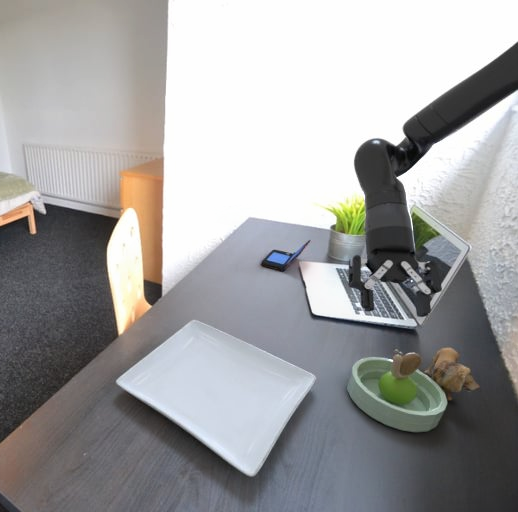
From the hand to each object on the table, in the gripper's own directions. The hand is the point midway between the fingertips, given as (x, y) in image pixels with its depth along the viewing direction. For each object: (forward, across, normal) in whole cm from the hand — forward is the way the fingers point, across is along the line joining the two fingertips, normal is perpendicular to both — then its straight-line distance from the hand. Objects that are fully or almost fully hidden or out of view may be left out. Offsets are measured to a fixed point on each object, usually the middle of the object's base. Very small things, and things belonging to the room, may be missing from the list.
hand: (395, 313), depth 67 cm
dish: (+15, 0, +5) cm, 16 cm away
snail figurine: (+15, 0, +5) cm, 16 cm away
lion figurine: (+12, +11, +9) cm, 18 cm away
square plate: (+18, -31, +2) cm, 36 cm away
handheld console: (-23, -9, +44) cm, 51 cm away
